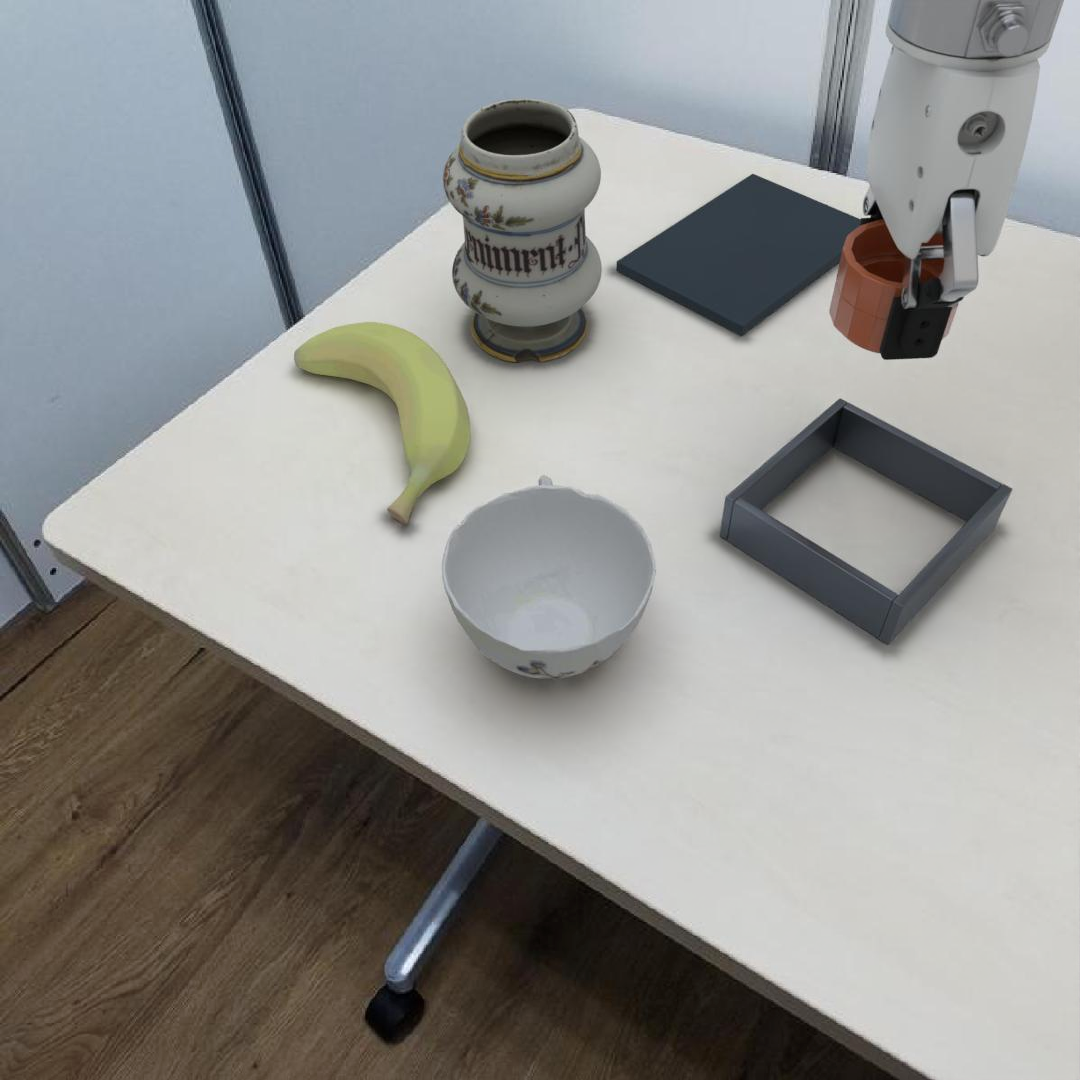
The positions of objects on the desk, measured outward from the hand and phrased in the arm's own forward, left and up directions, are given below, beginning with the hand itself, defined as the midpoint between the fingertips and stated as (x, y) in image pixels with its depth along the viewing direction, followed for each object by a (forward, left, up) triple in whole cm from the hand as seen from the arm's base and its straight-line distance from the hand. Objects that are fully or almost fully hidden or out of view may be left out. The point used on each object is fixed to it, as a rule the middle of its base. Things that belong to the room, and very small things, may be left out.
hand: (890, 312), depth 61 cm
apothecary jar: (+2, -30, -16) cm, 34 cm away
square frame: (+3, +3, -15) cm, 16 cm away
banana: (+19, -29, -16) cm, 38 cm away
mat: (-19, -23, -15) cm, 34 cm away
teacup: (+23, -7, -16) cm, 28 cm away
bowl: (0, 0, -1) cm, 1 cm away
